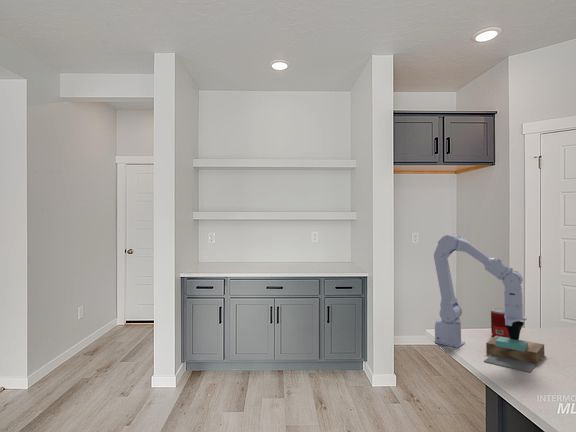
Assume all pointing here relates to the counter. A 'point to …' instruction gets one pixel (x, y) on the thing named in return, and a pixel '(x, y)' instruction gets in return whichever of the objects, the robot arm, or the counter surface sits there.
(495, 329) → the canned food
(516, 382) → the counter surface
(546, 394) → the counter surface
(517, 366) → the mat
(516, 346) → the teal rectangular block
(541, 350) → the board
